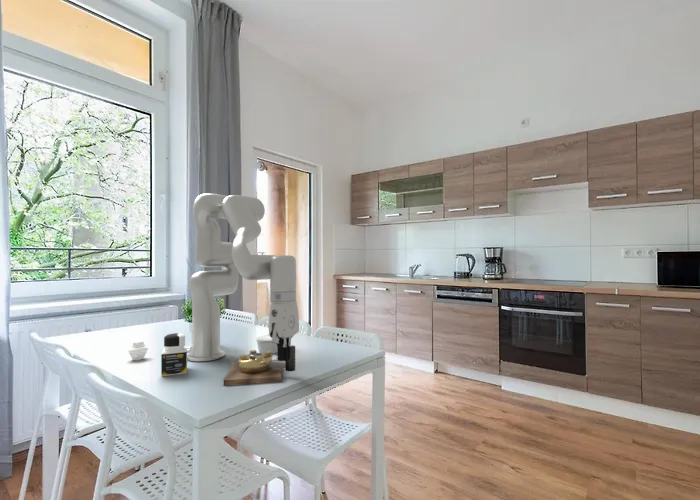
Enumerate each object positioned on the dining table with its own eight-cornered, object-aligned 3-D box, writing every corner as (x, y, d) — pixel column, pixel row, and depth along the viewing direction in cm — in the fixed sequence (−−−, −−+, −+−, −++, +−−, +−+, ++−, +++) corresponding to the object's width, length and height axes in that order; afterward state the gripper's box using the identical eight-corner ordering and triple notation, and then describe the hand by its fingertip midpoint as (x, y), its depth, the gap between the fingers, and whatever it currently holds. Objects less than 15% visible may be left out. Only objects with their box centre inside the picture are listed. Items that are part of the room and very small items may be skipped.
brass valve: (232, 371, 108) (232, 346, 108) (251, 362, 117) (250, 339, 118) (287, 376, 102) (287, 351, 103) (302, 366, 112) (301, 343, 112)
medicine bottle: (161, 376, 109) (161, 337, 110) (163, 370, 116) (163, 333, 116) (186, 373, 112) (186, 335, 112) (187, 367, 119) (187, 331, 119)
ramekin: (288, 347, 145) (288, 334, 145) (282, 354, 134) (282, 340, 134) (261, 347, 145) (260, 334, 145) (252, 354, 134) (252, 340, 134)
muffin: (126, 359, 129) (126, 340, 129) (145, 356, 133) (145, 337, 133) (131, 362, 125) (131, 342, 125) (150, 359, 129) (150, 339, 129)
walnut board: (223, 385, 101) (223, 380, 101) (234, 366, 119) (234, 362, 119) (280, 381, 103) (280, 376, 104) (282, 363, 121) (282, 359, 121)
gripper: (280, 300, 96) (281, 368, 96) (306, 295, 110) (306, 354, 110) (257, 299, 99) (257, 366, 98) (285, 294, 113) (285, 352, 112)
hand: (283, 360), depth 104 cm, fingers closed
